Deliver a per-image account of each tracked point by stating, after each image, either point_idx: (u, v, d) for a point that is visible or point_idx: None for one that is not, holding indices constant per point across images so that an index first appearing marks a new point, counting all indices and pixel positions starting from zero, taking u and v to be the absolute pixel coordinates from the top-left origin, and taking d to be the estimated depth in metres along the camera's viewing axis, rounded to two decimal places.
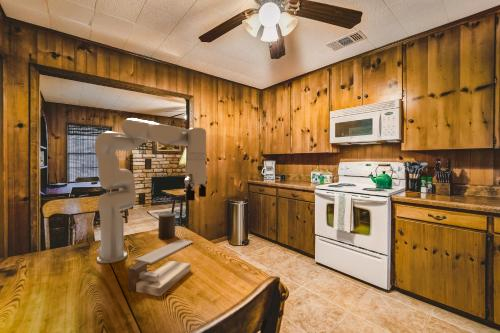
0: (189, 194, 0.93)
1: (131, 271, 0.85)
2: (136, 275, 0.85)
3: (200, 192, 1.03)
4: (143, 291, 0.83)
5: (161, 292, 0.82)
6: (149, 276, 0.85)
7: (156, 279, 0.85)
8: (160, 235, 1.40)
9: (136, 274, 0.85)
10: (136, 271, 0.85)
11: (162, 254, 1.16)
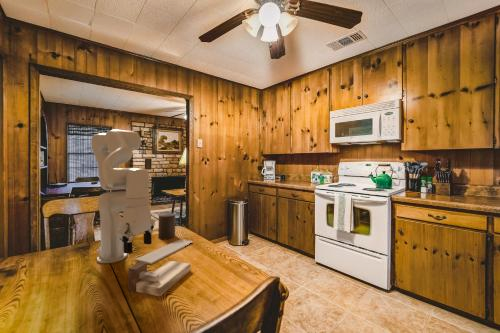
0: (125, 247, 0.81)
1: (131, 271, 0.85)
2: (136, 275, 0.85)
3: (145, 239, 0.91)
4: (143, 291, 0.83)
5: (161, 292, 0.82)
6: (149, 276, 0.85)
7: (156, 279, 0.85)
8: (160, 235, 1.40)
9: (136, 274, 0.85)
10: (136, 271, 0.85)
11: (162, 254, 1.16)
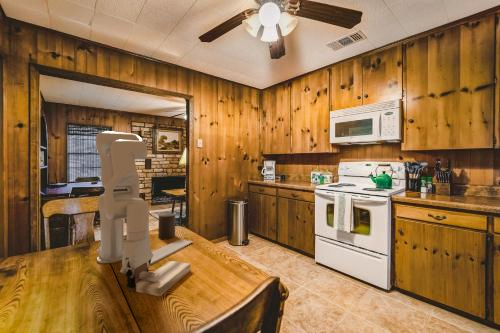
0: (129, 281, 0.84)
1: (131, 271, 0.85)
2: (136, 275, 0.85)
3: None
4: (143, 291, 0.83)
5: (161, 292, 0.82)
6: (149, 276, 0.85)
7: (156, 279, 0.85)
8: (160, 235, 1.40)
9: (136, 274, 0.85)
10: (136, 270, 0.85)
11: (162, 254, 1.15)
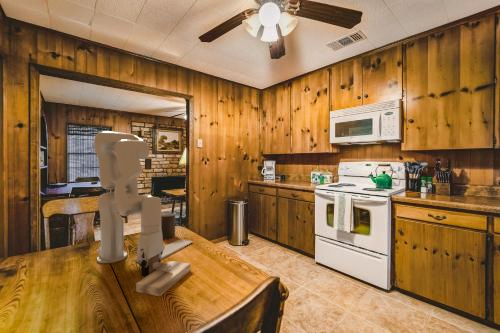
0: (143, 271, 0.91)
1: (145, 261, 0.92)
2: (150, 265, 0.92)
3: None
4: (143, 291, 0.83)
5: (161, 292, 0.82)
6: (162, 266, 0.92)
7: (168, 269, 0.92)
8: None
9: (150, 264, 0.92)
10: (150, 261, 0.92)
11: (162, 254, 1.15)
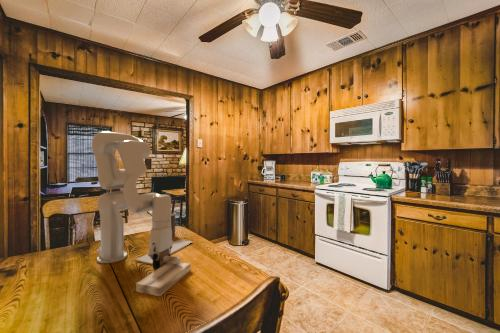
0: (154, 264, 0.97)
1: (156, 255, 0.98)
2: (160, 258, 0.98)
3: None
4: (143, 291, 0.83)
5: (161, 292, 0.82)
6: (172, 259, 0.98)
7: (178, 262, 0.98)
8: None
9: (161, 258, 0.98)
10: (160, 254, 0.98)
11: None
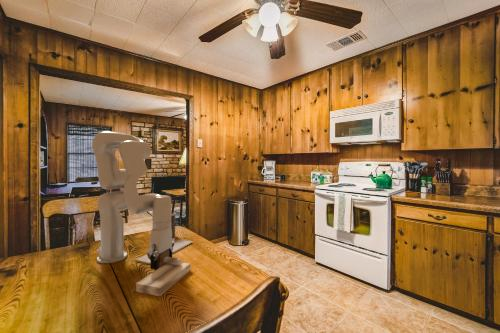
0: (152, 264, 0.96)
1: None
2: (161, 259, 0.98)
3: None
4: (143, 291, 0.83)
5: (161, 292, 0.82)
6: (172, 260, 0.98)
7: (178, 263, 0.98)
8: None
9: (161, 259, 0.99)
10: (161, 255, 0.98)
11: None
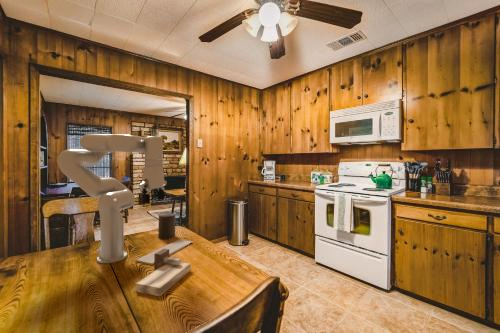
0: (144, 197, 1.02)
1: (157, 256, 0.98)
2: (161, 259, 0.98)
3: (159, 195, 1.12)
4: (143, 291, 0.83)
5: (161, 292, 0.82)
6: (172, 260, 0.98)
7: (178, 263, 0.98)
8: (160, 235, 1.40)
9: (161, 259, 0.99)
10: (161, 255, 0.98)
11: None
